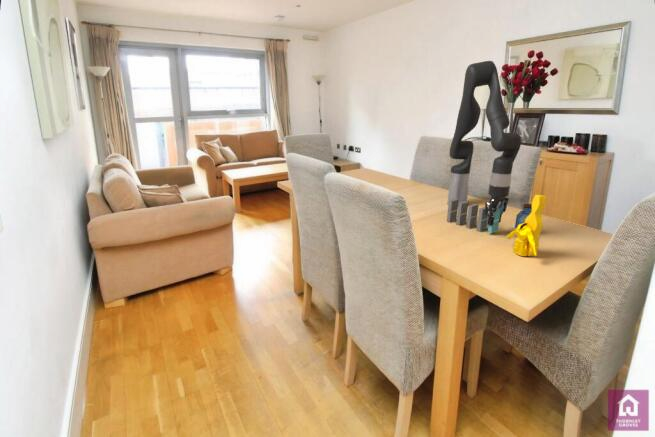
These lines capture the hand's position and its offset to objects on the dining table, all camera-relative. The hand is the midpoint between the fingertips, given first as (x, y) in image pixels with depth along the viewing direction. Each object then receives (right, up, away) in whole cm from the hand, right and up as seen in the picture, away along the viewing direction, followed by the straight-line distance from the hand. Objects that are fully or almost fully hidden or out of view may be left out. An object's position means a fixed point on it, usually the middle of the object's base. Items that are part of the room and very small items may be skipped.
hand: (493, 223), depth 150 cm
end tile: (0, -3, +1) cm, 3 cm away
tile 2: (-9, 0, +13) cm, 16 cm away
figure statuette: (+3, -11, -18) cm, 21 cm away
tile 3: (-6, -2, +9) cm, 11 cm away
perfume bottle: (+14, -4, +3) cm, 15 cm away
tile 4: (-3, -3, +5) cm, 7 cm away
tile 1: (-12, +1, +17) cm, 20 cm away
